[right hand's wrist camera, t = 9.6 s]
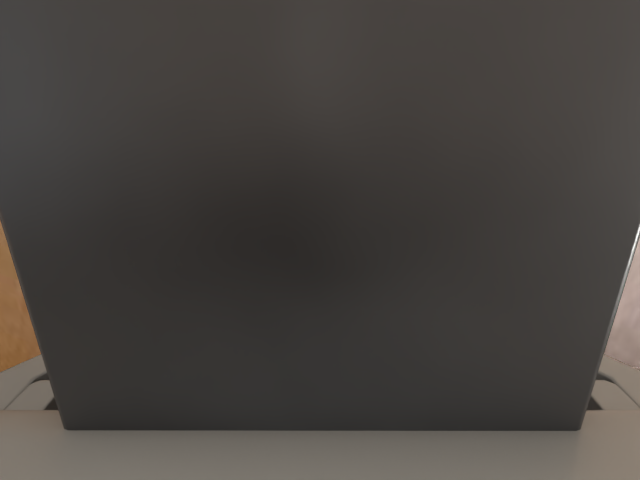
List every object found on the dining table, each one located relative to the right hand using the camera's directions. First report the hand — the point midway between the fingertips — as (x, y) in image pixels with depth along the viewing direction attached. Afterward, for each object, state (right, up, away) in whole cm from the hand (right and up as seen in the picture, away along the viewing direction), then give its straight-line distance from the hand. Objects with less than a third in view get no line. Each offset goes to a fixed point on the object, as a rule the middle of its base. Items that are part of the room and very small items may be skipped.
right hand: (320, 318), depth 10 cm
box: (0, +9, +1) cm, 9 cm away
